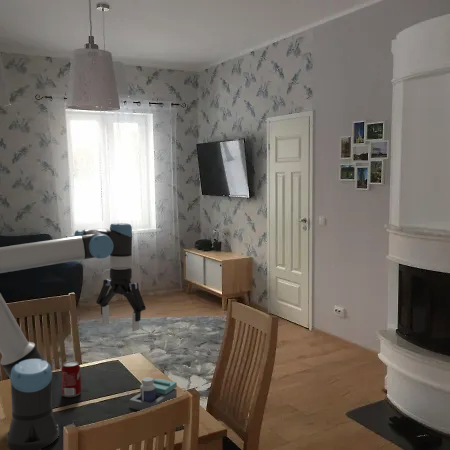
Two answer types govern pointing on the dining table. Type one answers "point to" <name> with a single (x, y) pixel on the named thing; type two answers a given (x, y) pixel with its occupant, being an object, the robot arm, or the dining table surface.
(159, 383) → the teal ridged square block
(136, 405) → the socket block
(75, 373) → the soda can
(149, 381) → the pill bottle
